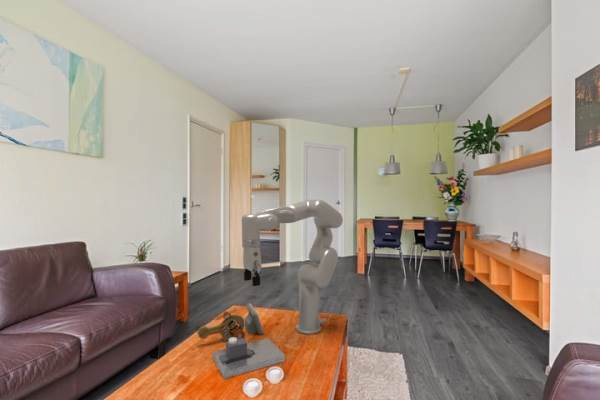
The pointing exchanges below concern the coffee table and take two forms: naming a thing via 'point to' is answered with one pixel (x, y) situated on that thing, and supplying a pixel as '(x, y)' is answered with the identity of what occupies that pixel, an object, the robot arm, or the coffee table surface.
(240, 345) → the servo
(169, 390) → the coffee table surface
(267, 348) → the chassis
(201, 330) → the toy helicopter
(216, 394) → the coffee table surface
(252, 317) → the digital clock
